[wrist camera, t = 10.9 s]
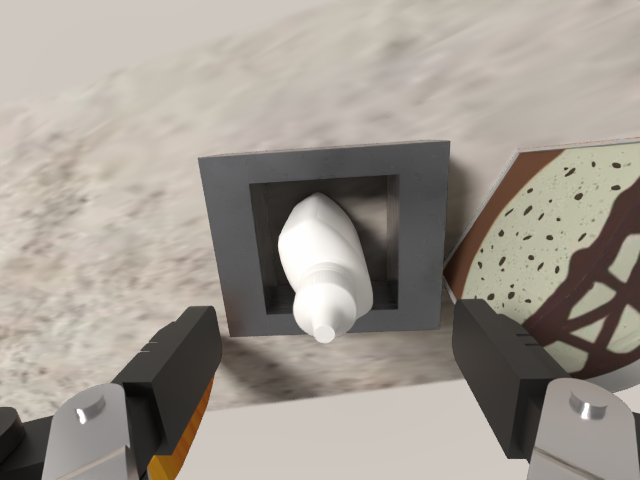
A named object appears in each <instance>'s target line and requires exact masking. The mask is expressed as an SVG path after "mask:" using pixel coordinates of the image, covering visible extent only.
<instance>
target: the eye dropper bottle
mask: <svg viewBox="0 0 640 480" xmlns="http://www.w3.org/2000/svg"><path fill="white" fill-rule="evenodd" d="M278 249H279V255H280V259H281V263H282V266H283V269H284V272H285V274H286V276H287V279H288V281H289V282H290V284H291V286H292V288H293V289H294V291H295V292H296V295H295V300H294V305H293V311H294V312H293V314H294V317H295V320H296V322H297V323H298V325H299V327H300V328H302V330H304V332H306V333H307V334H309V335H312V336H314V337H315V339H316V340H317V341H318V342H320V343H329V342H331V341H332V340H333V339H334V338H335V337H338V336H341V335H343V334H344V333H346V332H347V331H349V329H351V327H352V326H353V324H354V323H355V321H356V319H358V318H360V317H361V316H363V315H365V314H366V313H367V312H368V311H369V310H370V309H371V308H372V305H373V291H372V286H371V282H370V277H369V273H368V270H367V266H366V262H365V258H364V254H363V251H362V247H361V243H360V240H359V237H358V234H357V232H356V229H355V227H354V225H353V223H352V222H351V220H350V218H349V217H348V216H347V214H346V213H345V212H344V211H343V210H342V208H341V207H340V206H339V205H337V204H336V203H335V202H334V201H333V200H331V199H330V198H329V197H327V196H326V195H324V194H322V193H318V192H316V193H313V194H311V195H310V196H308V197H306V198H305V199H304V200H302V201H301V202H299V203H298V204H297V205H296V206H295V207H294V208H293V210H292V212H291V214H290V216H289V218H288V220H287V221H286V223H285V225H284V227H283V229H282V231H281V234H280V236H279V241H278Z"/></svg>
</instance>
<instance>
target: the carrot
mask: <svg viewBox="0 0 640 480" xmlns="http://www.w3.org/2000/svg"><path fill="white" fill-rule="evenodd" d="M214 375H215V374H214ZM214 375H213V377H212V379H211V381H210V383H209V385H208V387H207V389H206V391H205V393H204V395H203V397H202V398H201V400H200V402H199V404H198V406H197V408H196V410H195V412H194V414H193V416H192V418H191V419H190V421H189V423H188V425H187V427H186V429H185V431H184V433H183V435H182V437H181V439H180V441H179V442H178V444H177V446H176V448H175V450H174V452H173V454H172V456H161V455H154V456H153V458H152V459H151V461H150V463H149V465H148V469H149V472H150V477H151V480H174V479H175V478H176V476H177V475H178V473H179V471H180V470H181V468H182V466H183V463H184V461H185V458H186V456H187V454H188V452H189V449H190V447H191V444H192V442H193V440H194V437H195V435H196V432H197V430H198V428H199V425H200V422H201V420H202V417H203V415H204V412H205V410H206V407H207V405H208V401H209V397H210V393H211V389H212V385H213V380H214Z"/></svg>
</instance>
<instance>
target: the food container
mask: <svg viewBox="0 0 640 480" xmlns="http://www.w3.org/2000/svg"><path fill="white" fill-rule="evenodd" d="M442 282H443V284H444V286H445V288H446V290H447V292H448V294H449V296H450V297H451V299H452V301H453V303H454V305H455V303H456V301H457V299H484V300H485V301H486V302H487V303H488V304H489V305H490V307H491V308H492V309H493V310H494V311H495V312H496V313H497V314H504V315H506V316H508V317H509V318H511V319H513V320H515V321H516V322H518V323H519V324H520V325H521V326H522V327H523V328H524V329H525V330H526V331H527V332H528V333H529V334H530V336H532V337H533V338H534V339H535V340H536V341H537V342H538V343H539V346H542V347H543V348H544V349H545V350H546V351H547V352H548V353H549V354H550V355H551V356H552V357H553V358H554V359H555V360H556V361H557V363H558V364H559V365H560V366H561V367H562V368H563V369H564V370H565V371H566V372H567V373H568V374H569V375H570V376H571V377H572V378H573V379H579V380H583V381H587V382H590V383H592V384H595V385H597V386H600V387H602V388H604V389H606V390H607V391H609V392H611V393H614V392H618V391H621V390H625V389H628V388H630V387H633V386H635V385H638V384H640V137H637V138H626V139H616V140H606V141H596V142H586V143H576V144H565V145H555V146H545V147H535V148H525V149H518V150H517V151H516V153H515V154H514V156H513V157H512V159H511V160H510V162H509V163H508V165H507V167H506V168H505V170H504V171H503V173H502V174H501V176H500V177H499V179H498V180H497V182H496V183H495V185H494V186H493V188H492V190H491V191H490V193H489V194H488V196H487V197H486V199H485V200H484V202H483V203H482V205H481V206H480V208H479V209H478V211H477V212H476V214H475V216H474V217H473V219H472V220H471V222H470V223H469V225H468V226H467V228H466V229H465V231H464V232H463V234H462V235H461V237H460V238H459V240H458V242H457V243H456V245H455V246H454V248H453V249H452V251H451V252H450V254H449V255H448V257H447V258H446V260H445V261H444V263H443V276H442Z"/></svg>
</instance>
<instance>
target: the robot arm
mask: <svg viewBox="0 0 640 480" xmlns="http://www.w3.org/2000/svg"><path fill="white" fill-rule="evenodd" d="M452 348H453V354H454V357H455V360H456V362H457V364H458V366H459V368H460V370H461V372H462V374H463V375H464V377H465V379H466V381H467V383H468V385H469V386H470V389H471V391H472V392H473V394H474V396H475V398H476V400H477V402H478V403H479V406H480V408H481V409H482V411H483V413H484V415H485V417H486V419H487V421H488V423H489V425H490V426H491V428H492V430H493V432H494V434H495V436H496V438H497V440H498V442H499V443H500V445H501V447H502V449H503V451H504V453H505V455H506V456H507V458H508V459H527V461H528V463H529V464H530V466H529V471H528V475H527V480H640V414H639V413H635V412H631V410H630V409H629V408H628V406H627V405H626V404H625V403H624V402H623V401H622V400H621V399H619V398H618V397H617V396H615V395H614V394H612V393H611V392H609V391H607V390H606V389H604V388H602V387H600V386H597V385H595V384H592V383H590V382H587V381H583V380H579V379H573V378H572V377H571V376H570V375H569V374H568V373H567V372H566V371H565V370H564V369H563V368H562V367H561V366H560V365H559V364H558V363H557V361H556V360H555V359H554V358H553V357H552V356H551V355H550V354H549V353H548V352H547V351H546V350H545V349H544V348H543V347H542V346H539V343H538V342H537V341H536V340H535V339H534V338H533V337H532V336H530V334H529V333H528V332H527V331H526V330H525V329H524V328H523V327H522V326H521V325H520V324H519V323H518V322H516V321H515V320H513V319H511V318H509V317H508V316H506V315H504V314H497V313H496V312H495V311H494V310H493V309H492V308H491V307H490V305H489V304H488V303H487V302H486V301H485V300H484V299H457V301H456V303H455V309H454V322H453V335H452ZM221 357H222V343H221V337H220V332H219V327H218V321H217V316H216V311H215V309H214V307H213V306H191V307H188V308H187V309H186V310H185V311H184V313H183V314H182V315H181V316H180V317H179V318H178V319H177V321H176V322H172V323H170V324H168V325H167V326H165V327H164V328H162V329H161V330H159V331H158V332H157V333H156V334H155V335H154V336H153V337H152V339H151V340H150V341H149V344H146V345H145V346H144V347H143V348H142V349H141V352H140V353H138V354H137V355H136V356H135V357H134V358H133V359H132V360H131V361H130V362H129V363H128V364H127V365H126V367H125V368H124V369H123V370H122V371H121V372H120V373H119V374H118V375H117V376H116V377H115V378H114V379H113V381H112V382H111V383H107V384H101V385H97V386H94V387H91V388H89V389H86V390H84V391H82V392H80V393H78V394H77V395H75V396H73V397H72V398H70V399H69V400H68V401H67V402H65V403H64V404H63V405H62V406H61V407H60V408H59V409H58V410H57V412H56V413H55V415H53V416H49V417H45V418H41V419H37V420H33V421H29V422H25V423H22V422H21V420H20V417H19V415H18V413H17V411H16V410H15V409H14V408H12V407H0V480H151V477H150V472H149V469H148V465H149V463H150V461H151V459H152V458H153V456H154V455H161V456H172V454H173V452H174V450H175V448H176V446H177V444H178V442H179V441H180V439H181V437H182V435H183V433H184V431H185V429H186V427H187V425H188V423H189V421H190V419H191V418H192V416H193V414H194V412H195V410H196V408H197V406H198V404H199V402H200V400H201V398H202V397H203V395H204V393H205V391H206V389H207V387H208V385H209V383H210V381H211V379H212V377H213V375H214V374H215V372H216V370H217V368H218V366H219V364H220V361H221Z"/></svg>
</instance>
